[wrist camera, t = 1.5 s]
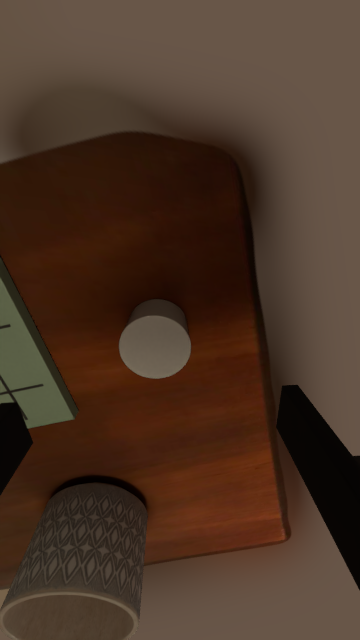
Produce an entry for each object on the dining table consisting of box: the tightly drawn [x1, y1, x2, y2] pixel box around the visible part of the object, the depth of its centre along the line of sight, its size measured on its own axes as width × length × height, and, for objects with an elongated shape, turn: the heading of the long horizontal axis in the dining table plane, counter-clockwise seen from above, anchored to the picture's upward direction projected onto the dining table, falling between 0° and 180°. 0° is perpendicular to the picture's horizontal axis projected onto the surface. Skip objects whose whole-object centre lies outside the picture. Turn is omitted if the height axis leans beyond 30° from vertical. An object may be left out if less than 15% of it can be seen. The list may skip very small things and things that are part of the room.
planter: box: [0, 482, 148, 640], centre depth 34 cm, size 16×16×13 cm
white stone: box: [119, 299, 191, 378], centre depth 25 cm, size 7×7×5 cm
